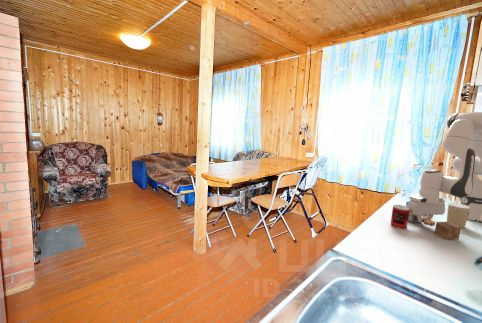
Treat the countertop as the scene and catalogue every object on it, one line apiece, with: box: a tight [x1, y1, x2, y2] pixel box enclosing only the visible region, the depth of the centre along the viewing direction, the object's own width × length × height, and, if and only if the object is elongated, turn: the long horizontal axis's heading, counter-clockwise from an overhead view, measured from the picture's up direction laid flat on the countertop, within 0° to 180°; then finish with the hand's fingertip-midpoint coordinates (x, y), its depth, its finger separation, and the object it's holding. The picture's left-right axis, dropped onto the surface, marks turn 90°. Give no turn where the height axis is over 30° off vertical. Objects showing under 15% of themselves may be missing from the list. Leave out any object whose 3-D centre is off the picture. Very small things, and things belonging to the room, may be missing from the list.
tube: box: [414, 215, 436, 227], centre depth 132 cm, size 4×16×4 cm, turn 6°
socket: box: [434, 221, 462, 241], centre depth 116 cm, size 7×6×7 cm
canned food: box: [390, 204, 410, 230], centre depth 127 cm, size 8×8×11 cm
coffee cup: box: [446, 202, 470, 229], centre depth 131 cm, size 9×9×12 cm
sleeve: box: [408, 213, 423, 224], centre depth 136 cm, size 7×6×6 cm
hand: (424, 221), depth 129 cm, fingers closed on tube, 3 cm apart
